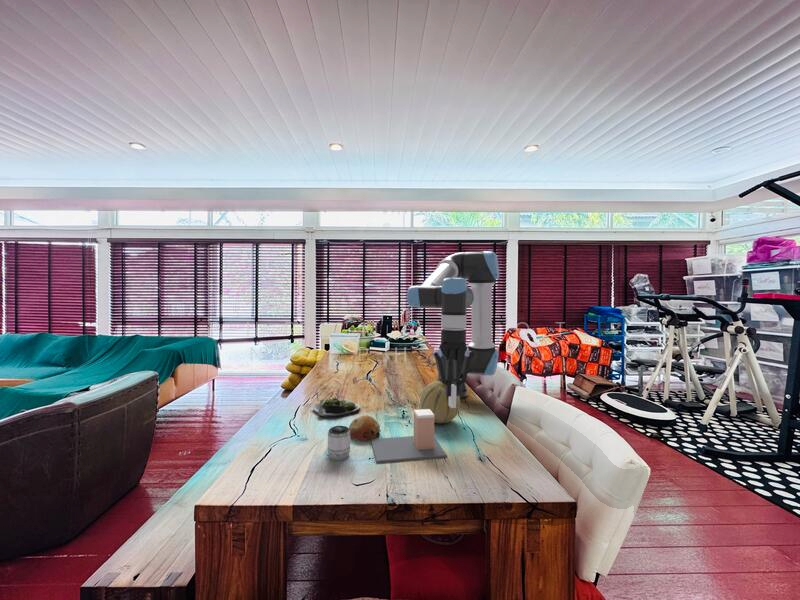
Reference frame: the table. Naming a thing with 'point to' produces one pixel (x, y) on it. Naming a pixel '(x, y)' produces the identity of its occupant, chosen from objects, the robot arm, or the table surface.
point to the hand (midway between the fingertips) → (452, 406)
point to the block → (424, 429)
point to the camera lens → (338, 442)
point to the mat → (403, 450)
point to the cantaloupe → (438, 402)
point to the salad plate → (336, 408)
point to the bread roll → (364, 428)
